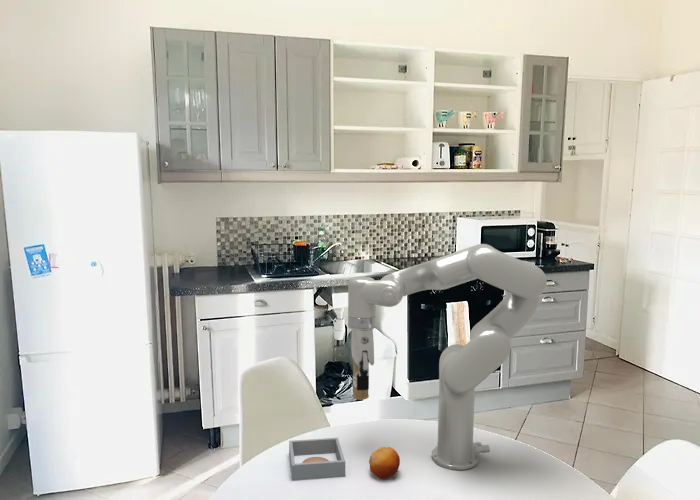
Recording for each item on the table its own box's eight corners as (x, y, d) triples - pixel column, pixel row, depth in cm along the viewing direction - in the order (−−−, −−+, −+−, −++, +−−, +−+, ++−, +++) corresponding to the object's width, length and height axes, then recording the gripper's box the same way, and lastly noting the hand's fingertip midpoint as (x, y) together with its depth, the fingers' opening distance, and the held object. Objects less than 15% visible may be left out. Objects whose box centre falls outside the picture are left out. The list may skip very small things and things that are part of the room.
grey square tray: (337, 451, 147) (337, 437, 147) (345, 476, 134) (345, 461, 133) (289, 454, 145) (289, 440, 144) (291, 480, 132) (291, 465, 131)
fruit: (405, 479, 130) (389, 451, 130) (378, 491, 132) (362, 464, 132) (408, 463, 138) (393, 437, 138) (382, 475, 140) (367, 449, 140)
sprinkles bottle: (352, 400, 144) (352, 352, 142) (353, 394, 148) (353, 347, 147) (369, 400, 143) (369, 352, 142) (369, 394, 148) (369, 348, 147)
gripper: (381, 328, 136) (380, 396, 138) (368, 314, 153) (368, 375, 154) (353, 329, 135) (352, 398, 137) (343, 315, 151) (343, 376, 153)
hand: (361, 385), depth 145 cm, fingers closed on sprinkles bottle, 4 cm apart
